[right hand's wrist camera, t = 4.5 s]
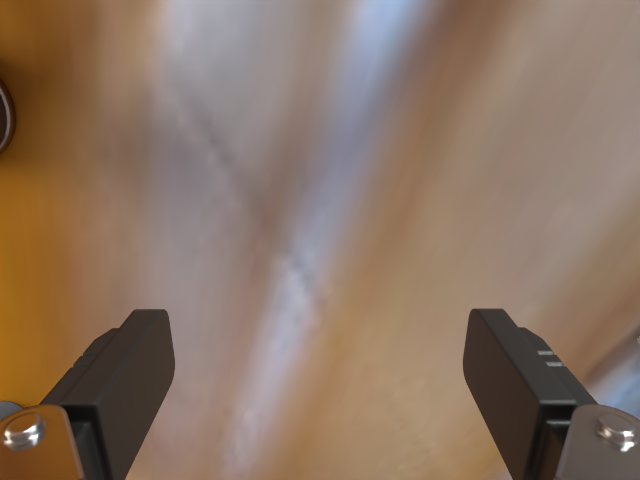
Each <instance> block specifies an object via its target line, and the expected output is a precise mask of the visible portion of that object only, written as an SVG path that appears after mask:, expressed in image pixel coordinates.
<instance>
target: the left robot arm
mask: <svg viewBox="0 0 640 480" xmlns="http://www.w3.org/2000/svg"><path fill="white" fill-rule="evenodd" d="M14 129H15V111H14V106H13V103H12V100H11V97H10V95H9V93H8V91H7V89H6V87H5V85H4V84H3V82H2V81H1V80H0V153H1V152H2V151H3V150H4V149H5V148H6V147H7V146H8V144H9V143H10V141H11V139H12V136H13V133H14Z"/></svg>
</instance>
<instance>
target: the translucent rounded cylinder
mask: <svg viewBox="0 0 640 480" xmlns="http://www.w3.org/2000/svg"><path fill="white" fill-rule="evenodd" d="M21 409H22V408H21V407H20V406H19V405H17V404H15V403H12V402H8V401H1V402H0V420H1V419H3V418H5V417H6V416H8V415H10V414H12V413H14V412H16V411H19V410H21Z"/></svg>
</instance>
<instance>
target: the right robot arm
mask: <svg viewBox="0 0 640 480" xmlns="http://www.w3.org/2000/svg"><path fill="white" fill-rule="evenodd" d="M174 370H175V358H174V351H173V344H172V337H171V330H170V323H169V316H168V313H167V311H166V310H164V309H136V310H134V311H133V312H132V313H131V314H130V315H129V317H128V318H127V319H126V320H125V322H124V323H123V324H122V325H121V327H120V328H113V329H111V330H109V331H108V332H106V333H105V334H103V335H102V336H100V337H98V338H97V339H95V340H94V341H93V343H92V344H91V345H90V346H89V347H88V348H87V349H86V351H85V352H84V353H83V356H80V358H79V359H78V360H77V361H76V362H75V363H74V365H73V368H70V369H69V370H68V371H67V373H66V374H65V375H64V376H63V377H62V378H61V380H60V381H59V382H58V383H57V384H56V385H55V387H54V388H53V389H52V390H51V391H50V392H49V394H48V395H47V396H46V397H45V398H44V399H43V400H42V402H41V403H40V404H39V405H35V406H31V407H27V408H24V409H21V410H19V411H16V412H14V413H12V414H10V415H8V416H6V417H5V418H3V419H1V420H0V480H125V478H126V476H127V474H128V472H129V470H130V468H131V465H132V463H133V461H134V459H135V457H136V455H137V453H138V451H139V449H140V447H141V445H142V443H143V441H144V439H145V437H146V435H147V433H148V431H149V429H150V427H151V424H152V422H153V420H154V418H155V416H156V414H157V412H158V410H159V408H160V406H161V404H162V402H163V400H164V398H165V396H166V394H167V392H168V390H169V388H170V385H171V383H172V380H173V377H174ZM463 371H464V377H465V380H466V383H467V385H468V387H469V389H470V391H471V393H472V395H473V398H474V400H475V402H476V404H477V406H478V408H479V410H480V412H481V414H482V416H483V418H484V420H485V422H486V425H487V427H488V429H489V431H490V433H491V435H492V437H493V439H494V441H495V443H496V445H497V447H498V449H499V452H500V454H501V456H502V458H503V460H504V462H505V464H506V466H507V468H508V470H509V472H510V474H511V476H512V479H513V480H640V420H639V419H637V418H635V417H634V416H632V415H630V414H628V413H626V412H624V411H621V410H619V409H616V408H613V407H609V406H605V405H598V403H597V402H596V401H595V400H594V399H593V398H592V396H591V395H590V394H589V393H588V392H587V391H586V389H585V388H584V387H583V386H582V385H581V383H580V382H579V381H578V380H577V379H576V378H575V376H574V375H573V374H572V373H571V372H570V371H569V369H568V368H567V367H564V365H563V362H562V361H561V360H560V359H559V358H558V357H557V355H554V352H553V351H552V350H551V348H550V347H549V346H548V345H547V344H546V343H545V341H544V340H543V339H542V338H540V337H539V336H537V335H535V334H534V333H532V332H531V331H529V330H528V329H526V328H518V327H517V325H516V324H515V323H514V322H513V320H512V319H511V318H510V317H509V315H508V314H507V313H506V312H505V311H504V310H503V309H472V310H471V312H470V315H469V320H468V327H467V334H466V341H465V348H464V356H463Z"/></svg>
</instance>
